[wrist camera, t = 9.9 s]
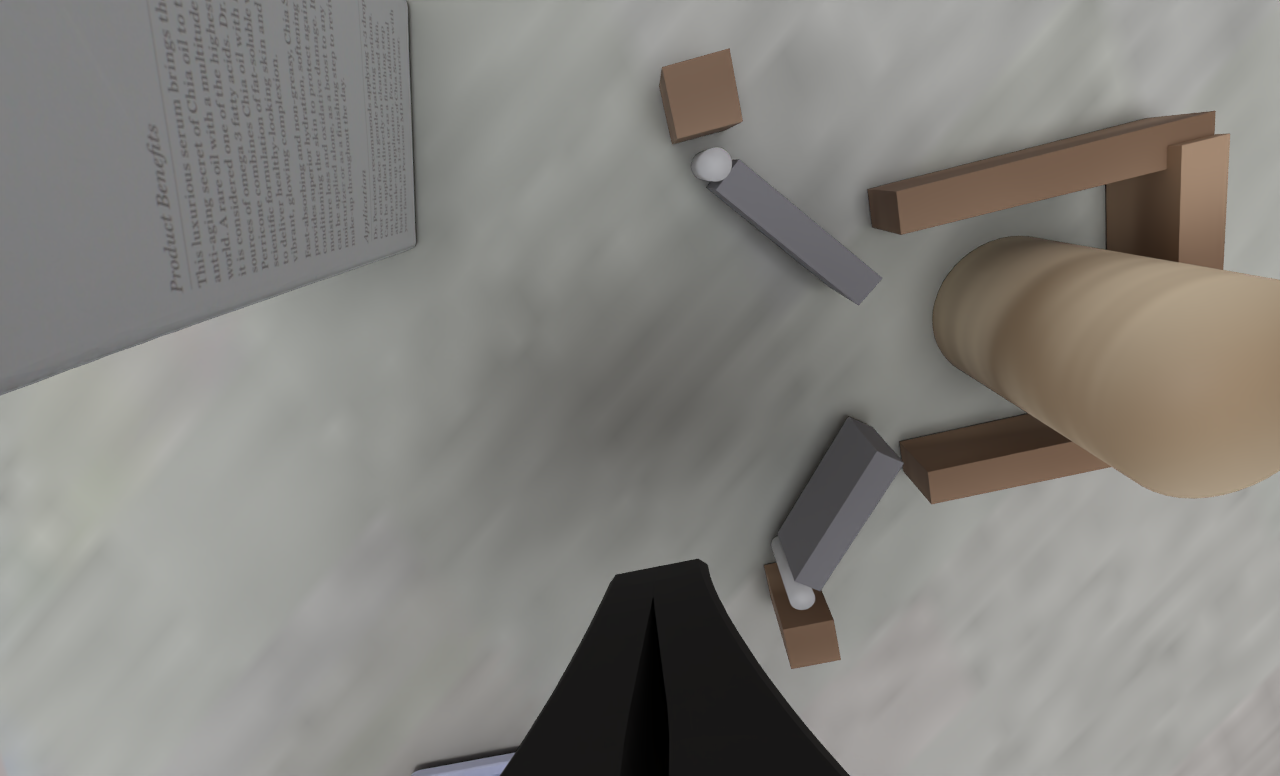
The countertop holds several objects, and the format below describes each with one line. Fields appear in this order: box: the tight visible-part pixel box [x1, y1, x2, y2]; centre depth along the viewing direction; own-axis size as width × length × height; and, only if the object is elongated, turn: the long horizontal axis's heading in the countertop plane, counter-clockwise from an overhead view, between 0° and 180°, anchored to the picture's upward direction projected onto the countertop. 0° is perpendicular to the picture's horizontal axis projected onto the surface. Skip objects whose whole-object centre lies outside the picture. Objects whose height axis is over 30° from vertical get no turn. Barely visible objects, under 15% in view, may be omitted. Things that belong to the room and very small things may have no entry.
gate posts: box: [659, 48, 841, 669], centre depth 17 cm, size 16×1×3 cm, turn 14°
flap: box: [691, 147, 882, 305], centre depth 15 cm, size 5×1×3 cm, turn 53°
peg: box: [933, 236, 1280, 498], centre depth 14 cm, size 4×4×7 cm
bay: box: [868, 111, 1230, 504], centre depth 16 cm, size 8×7×2 cm
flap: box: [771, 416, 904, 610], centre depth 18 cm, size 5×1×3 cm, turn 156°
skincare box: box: [0, 0, 416, 395], centre depth 10 cm, size 6×4×12 cm
